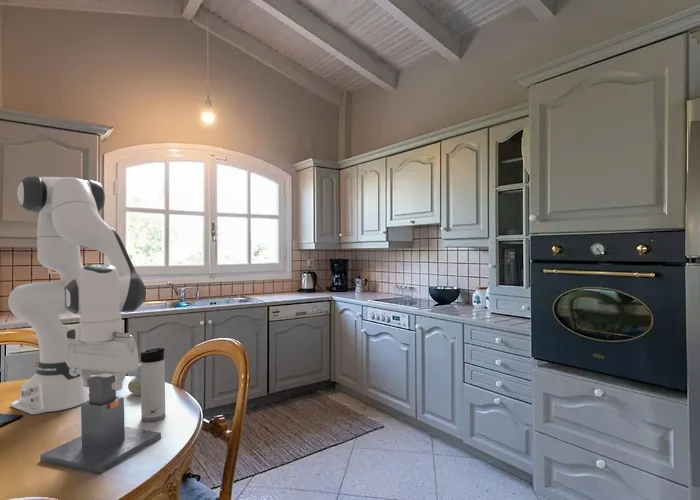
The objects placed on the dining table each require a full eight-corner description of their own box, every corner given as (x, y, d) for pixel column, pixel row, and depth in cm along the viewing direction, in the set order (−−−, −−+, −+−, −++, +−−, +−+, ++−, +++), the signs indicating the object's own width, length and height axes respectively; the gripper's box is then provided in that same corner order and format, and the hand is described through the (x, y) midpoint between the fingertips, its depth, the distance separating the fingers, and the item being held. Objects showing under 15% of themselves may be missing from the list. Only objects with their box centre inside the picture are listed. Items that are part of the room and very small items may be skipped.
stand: (40, 461, 98) (39, 409, 98) (108, 429, 115) (107, 385, 115) (98, 474, 92) (97, 418, 92) (161, 438, 109) (160, 391, 109)
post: (89, 444, 102) (88, 378, 102) (104, 436, 106) (103, 373, 106) (102, 446, 101) (101, 379, 101) (117, 439, 105) (116, 374, 105)
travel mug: (157, 422, 119) (155, 351, 119) (136, 421, 120) (135, 350, 120) (171, 414, 125) (169, 346, 125) (151, 412, 126) (149, 345, 126)
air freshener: (123, 395, 142) (123, 365, 142) (143, 387, 150) (143, 359, 150) (149, 398, 138) (148, 368, 138) (168, 390, 146) (167, 361, 146)
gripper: (144, 331, 103) (146, 388, 103) (83, 326, 110) (84, 380, 110) (123, 336, 97) (124, 396, 97) (59, 331, 104) (60, 388, 104)
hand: (102, 388), depth 104 cm, fingers open, 8 cm apart
